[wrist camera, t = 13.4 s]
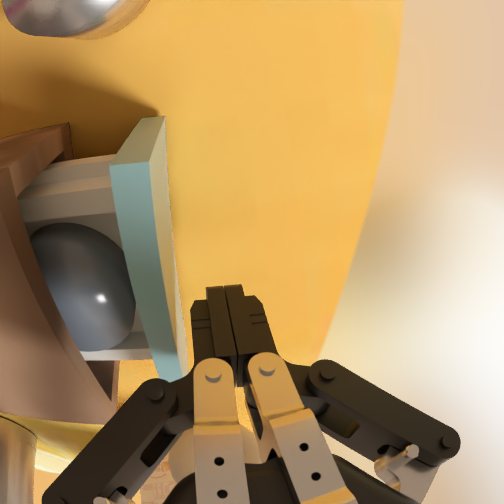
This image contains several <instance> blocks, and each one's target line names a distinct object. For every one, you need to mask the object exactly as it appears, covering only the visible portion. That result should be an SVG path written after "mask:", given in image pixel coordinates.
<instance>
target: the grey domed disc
mask: <svg viewBox="0 0 504 504" xmlns="http://www.w3.org/2000/svg"><path fill="white" fill-rule="evenodd" d="M29 240H30V243H31V245H32V248H33V251H34V254H35V256H36V259H37V262H38V264H39V267H40V269H41V272H42V274H43V277H44V279H45V281H46V284H47V286H48V288H49V291H50V293H51V295H52V297H53V300H54V302H55V304H56V306H57V308H58V310H59V312H60V314H61V316H62V318H63V321H64V323H65V324H66V326H67V328H68V330H69V332H70V334H71V336H72V338H73V340H74V342H75V344H76V345H77V347H78V349H79V351H84V352H93V351H101V350H106V349H109V348H112V347H114V346H116V345H118V344H119V343H121V342H122V341H123V340H124V339H125V338H126V337H127V336H128V335H129V333H130V331H131V330H132V327H133V324H134V317H135V309H136V300H135V297H134V293H133V289H132V285H131V281H130V277H129V273H128V268H127V264H126V260H125V255H124V251H123V250H122V249H121V248H120V247H119V246H118V245H117V244H116V243H115V242H114V241H112V240H111V239H110V238H109V237H107V236H106V235H104V234H102V233H101V232H99V231H97V230H95V229H93V228H90V227H87V226H84V225H81V224H76V223H69V222H61V223H53V224H49V225H46V226H44V227H41V228H40V229H38V230H36V231H35V232H34V233H33V234H31V235H30V237H29Z"/></svg>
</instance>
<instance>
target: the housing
mask: <svg viewBox="0 0 504 504" xmlns="http://www.w3.org/2000/svg"><path fill="white" fill-rule="evenodd" d="M69 160H74V159H73V152H72V145H71V138H70V130H69V123H65V124H60V125H55V126H50V127H46V128H41V129H37V130H33V131H29V132H25V133H21V134H17V135H13V136H10V137H6V138H3V139H0V412H2V413H7V414H12V415H18V416H24V417H30V418H37V419H44V420H52V421H61V422H71V423H84V424H101V425H105V424H106V423H107V422H108V421H109V420H110V419H111V418H112V417H113V416H114V414H115V413H116V412H117V392H118V376H119V363H120V360H84V358H83V356H82V354H81V353H80V351H79V349H78V347H77V345H76V344H75V342H74V340H73V338H72V336H71V334H70V332H69V330H68V328H67V326H66V324H65V323H64V321H63V318H62V316H61V314H60V312H59V310H58V308H57V306H56V304H55V302H54V300H53V297H52V295H51V293H50V291H49V288H48V286H47V284H46V281H45V279H44V277H43V274H42V272H41V269H40V267H39V264H38V262H37V259H36V256H35V254H34V251H33V248H32V245H31V243H30V240H29V237H28V234H27V231H26V228H25V225H24V221H23V218H22V215H21V212H20V208H19V205H18V201H17V196H18V195H19V194H20V193H21V192H22V191H23V190H24V189H25V188H26V187H27V186H28V185H29V184H30V183H31V182H32V181H33V180H34V178H35V177H36V176H37V175H38V174H39V173H40V172H41V171H42V170H43V169H45V168H46V167H47V166H48V165H49V164H52V163H57V162H63V161H69Z"/></svg>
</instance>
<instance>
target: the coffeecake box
mask: <svg viewBox="0 0 504 504" xmlns="http://www.w3.org/2000/svg"><path fill="white" fill-rule="evenodd" d="M168 457H169V452H168V454H167V455H166V456H165V457H164V459H163V460H162V461H161V463H160V464H159V465H158V466H157V468H156V469H155V470H154V471H153V473H152V474H151V475H150V477H149V478H148V479H147V480H146V482H145V483H144V484H143V485H142V486H141V488H140V492H141V503H142V504H163V502H164V501H165V499H166V498H167V496H168V495H169V494H170V492H171V491H172V489H173V488H174V487H175V485H176V484H177V483H176V482H175V480H174V479H173V477H172V475H171V471H170V468H169V464H168Z"/></svg>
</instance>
